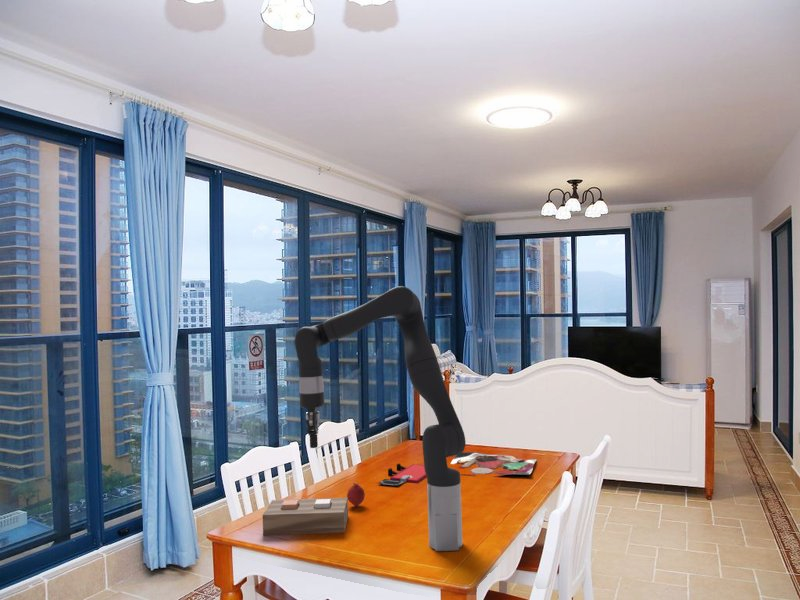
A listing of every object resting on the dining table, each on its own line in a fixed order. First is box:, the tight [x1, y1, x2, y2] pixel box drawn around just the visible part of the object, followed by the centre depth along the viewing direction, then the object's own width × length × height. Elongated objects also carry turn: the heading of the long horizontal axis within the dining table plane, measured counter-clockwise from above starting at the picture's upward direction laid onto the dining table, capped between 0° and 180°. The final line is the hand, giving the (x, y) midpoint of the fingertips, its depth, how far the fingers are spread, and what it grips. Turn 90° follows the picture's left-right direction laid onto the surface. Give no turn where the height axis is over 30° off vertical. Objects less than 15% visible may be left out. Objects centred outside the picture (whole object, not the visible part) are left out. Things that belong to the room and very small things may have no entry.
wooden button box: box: [262, 497, 349, 536], centre depth 187 cm, size 14×24×6 cm, turn 90°
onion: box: [346, 482, 366, 508], centre depth 204 cm, size 6×6×8 cm
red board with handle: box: [377, 462, 427, 487], centre depth 240 cm, size 30×3×15 cm
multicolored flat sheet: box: [450, 451, 537, 478], centre depth 253 cm, size 35×35×2 cm
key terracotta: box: [282, 499, 299, 509], centre depth 187 cm, size 4×4×4 cm
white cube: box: [315, 498, 331, 508], centre depth 187 cm, size 4×4×4 cm
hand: (314, 447), depth 188 cm, fingers closed
